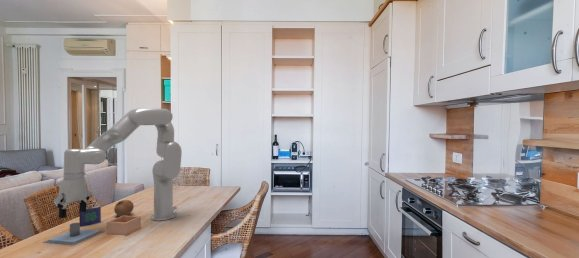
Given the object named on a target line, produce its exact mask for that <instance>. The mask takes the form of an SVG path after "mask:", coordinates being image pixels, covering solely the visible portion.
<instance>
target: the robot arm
mask: <svg viewBox="0 0 579 258" xmlns="http://www.w3.org/2000/svg"><path fill="white" fill-rule="evenodd" d="M173 118H174V117H173V113H172V112H171V110H169V109H168V108H134V109H130V110H129V111H128V112H126V113H125V115H123V116H122V117H121V118H120V119H119V120H118V121H117V122H115V124H114V125H112V126H111V127H110V128H109V129H107V130H106V131H105V132H103V133H102V134H101V135H100V136H99V137H97V138H96V139H94V140H93V141H92V142H91V143H90V144H88V146H87V147H85V149H82V148H67V149H65V150H64V152H63V179H62V180H61V182H60V185H59V190H58V196H57V197H56V198H54V199H53V200H52V202H53V204H54V207H56V209H58V218H59V219H66V218H67V206H68V204H72V203H76V202H79V204H78V205H79V209H78V210H79V211H80V212H86V207H87V204H88V203H89V201H90V198H91V195H92V192H91V191H89V190H87V189H88V188H87V181H86V177H85V176H86V172H85V168H86V167H85V166H86V165H94V166H95V165H100V164H102V163H103V162H105V161H106V160H107V153H106V152H107V151H108V150H109V149H111V148H112V147H114V146H115V145H118V144H120V143H122V142H123V141H126V140H127V139H128V138H129V137H130V136H131V135H132V134H133V133H134V132H135V131H136V130H137V129H138V128H139V127H140V126H155V128H156V130H157V141H156V142H157V143H156V149H155V151H156V154H157V156H158V157H160V158H163V159H161V160H158V161H155V163H154V164H153V166H152V171H151V172H152V178H153V214H152V215H151V216H150V220H152V221H161V222H162V221H167V220H171V219H174V218H176V216H177V215H176V212H174V211H175V210H177V206H176V205H173V202H174V200H173V199H174V198H173V197H174V196H173V195H174V194H173V193H174V192H173V189H174V186H173V180H175V179H177V177H178V176H179V175H180V172H181V166H182V163H181V162H182V155H183V154H182V147H181V146H180V144H179V143H178V142H176V141H175V128H174V125H173V123H172V120H173Z"/></svg>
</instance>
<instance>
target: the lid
mask: <svg viewBox="0 0 579 258" xmlns="http://www.w3.org/2000/svg"><path fill="white" fill-rule="evenodd" d="M99 231H100V230H93V229H92V230H91V229H82V228H81V227H80V223H79V222H74V223H70V224H69V231H67V232H64V233H62V234H59V235H57V236H55V237H52V238H49V239H48V242H59V243H71V244H74V243H77V242H79V241H81V240H83V239H86V238H88V237H90V236H93V235H95V234H97V233H99Z"/></svg>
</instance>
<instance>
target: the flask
mask: <svg viewBox="0 0 579 258" xmlns="http://www.w3.org/2000/svg"><path fill="white" fill-rule="evenodd" d="M78 216H79V217H78V218H79V219H78V220H79V222H78V223H80V228H81V227H87V226H91V225H97V224H101V223H102V208H101V206H100V205H97V206H93V204H89V206H86V212H80V211H79V215H78Z"/></svg>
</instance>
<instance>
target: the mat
mask: <svg viewBox="0 0 579 258" xmlns="http://www.w3.org/2000/svg"><path fill="white" fill-rule="evenodd" d="M98 231H99V233H97V234H95V235H93V236H90V237H88V238H86V239H83V240H81V241H79V242H77V243H74V244H71V243H59V242H48V240H49V239H48V240H45V241H42V244H49V245H51V244H53V245H62V246H63V245H64V246H75V245H78V244H81V243H82V242H85V241H87V240H89V239H92V238H94V237H96V236H98V235H101V234H103V233H104V231H103V230H101V231H100V230H98Z"/></svg>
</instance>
